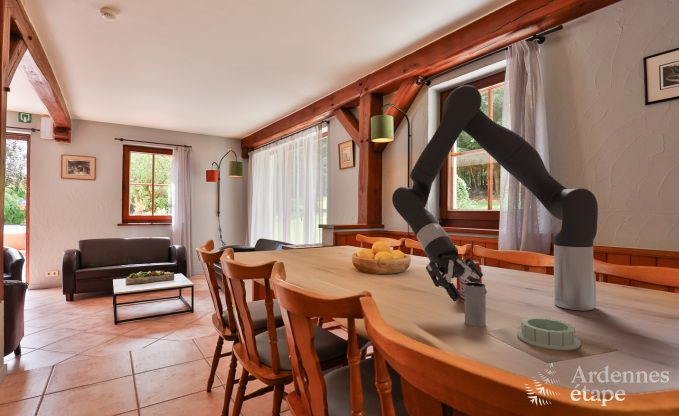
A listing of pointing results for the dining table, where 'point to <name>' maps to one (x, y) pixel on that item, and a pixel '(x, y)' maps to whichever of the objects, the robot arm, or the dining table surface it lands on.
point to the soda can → (462, 282)
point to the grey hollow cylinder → (475, 304)
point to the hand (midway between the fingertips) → (471, 297)
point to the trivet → (550, 356)
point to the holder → (548, 334)
